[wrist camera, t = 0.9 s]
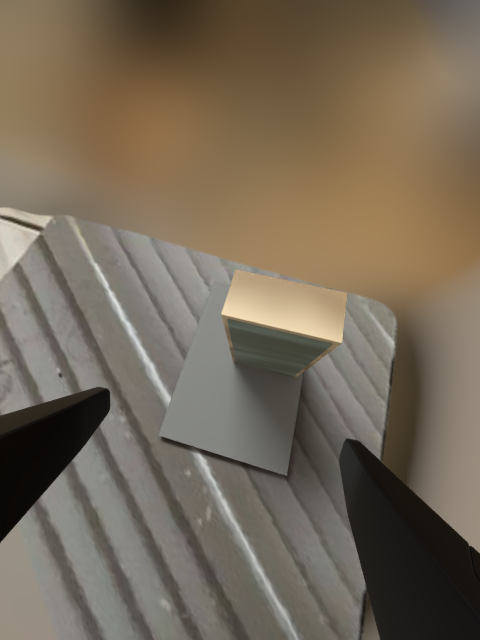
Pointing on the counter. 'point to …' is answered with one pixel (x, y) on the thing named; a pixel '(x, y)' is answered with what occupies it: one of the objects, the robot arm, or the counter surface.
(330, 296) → the tile
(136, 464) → the counter surface
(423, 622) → the robot arm
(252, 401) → the mat
